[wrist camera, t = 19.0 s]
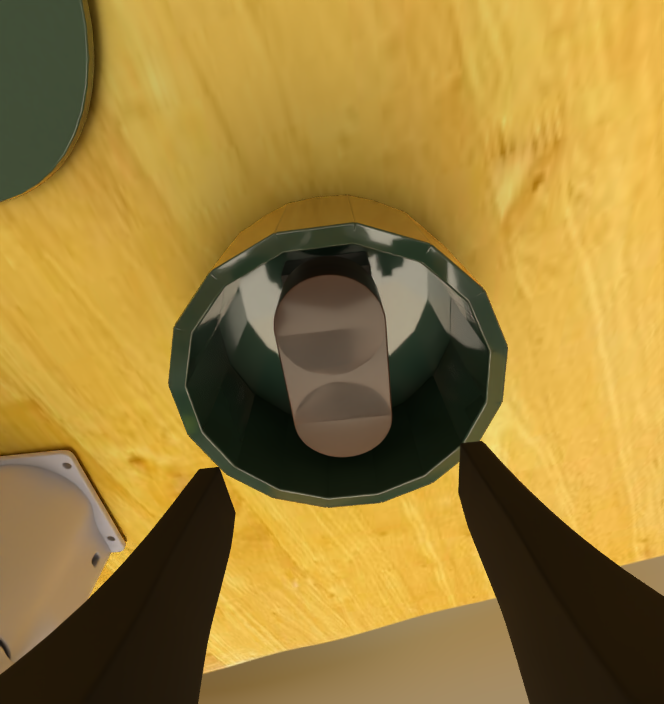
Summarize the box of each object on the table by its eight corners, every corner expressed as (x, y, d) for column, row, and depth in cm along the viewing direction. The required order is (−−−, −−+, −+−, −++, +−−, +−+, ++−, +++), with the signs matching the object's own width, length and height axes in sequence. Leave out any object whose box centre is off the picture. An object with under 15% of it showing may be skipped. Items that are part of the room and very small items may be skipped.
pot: (458, 412, 24) (494, 493, 19) (242, 435, 25) (219, 518, 20) (466, 176, 18) (523, 200, 13) (176, 215, 19) (116, 253, 13)
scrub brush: (383, 397, 23) (395, 453, 19) (306, 405, 23) (302, 462, 19) (371, 237, 19) (382, 267, 15) (276, 249, 19) (262, 282, 15)
